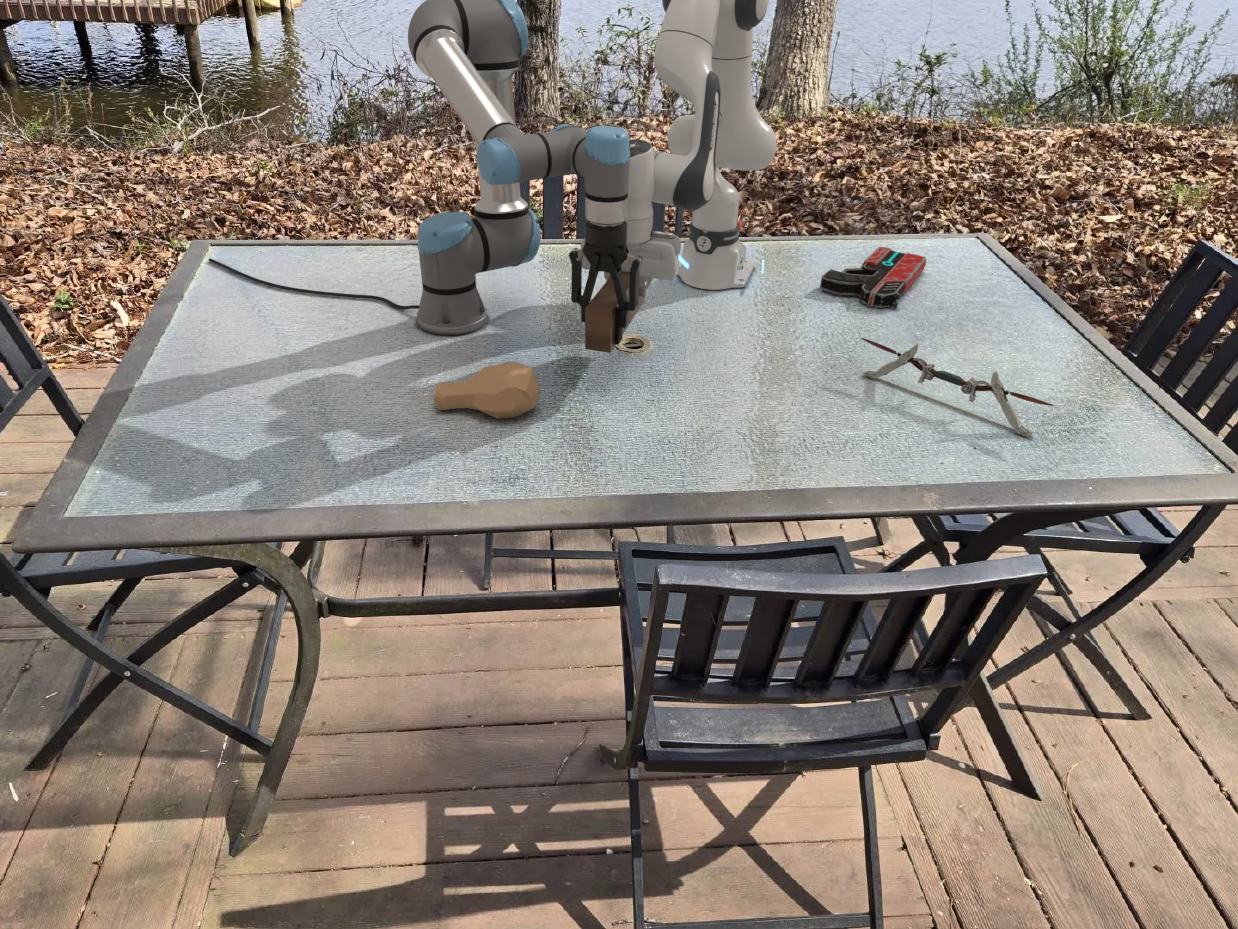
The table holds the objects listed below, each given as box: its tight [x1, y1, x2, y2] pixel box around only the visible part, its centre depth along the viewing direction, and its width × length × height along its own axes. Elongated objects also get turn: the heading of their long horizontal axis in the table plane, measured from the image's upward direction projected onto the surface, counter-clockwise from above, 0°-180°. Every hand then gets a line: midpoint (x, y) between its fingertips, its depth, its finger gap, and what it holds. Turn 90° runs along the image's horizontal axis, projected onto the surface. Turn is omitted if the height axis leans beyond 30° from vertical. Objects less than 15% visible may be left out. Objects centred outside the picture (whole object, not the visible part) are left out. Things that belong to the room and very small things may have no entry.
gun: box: [819, 246, 927, 309], centre depth 221 cm, size 4×31×19 cm
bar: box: [584, 272, 646, 354], centre depth 173 cm, size 25×5×8 cm, turn 164°
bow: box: [861, 337, 1055, 437], centre depth 168 cm, size 39×2×10 cm, turn 47°
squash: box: [433, 360, 542, 419], centre depth 163 cm, size 11×20×9 cm, turn 90°
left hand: (604, 339), depth 168 cm, fingers closed on bar, 5 cm apart
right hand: (628, 293), depth 181 cm, fingers closed on bar, 5 cm apart
